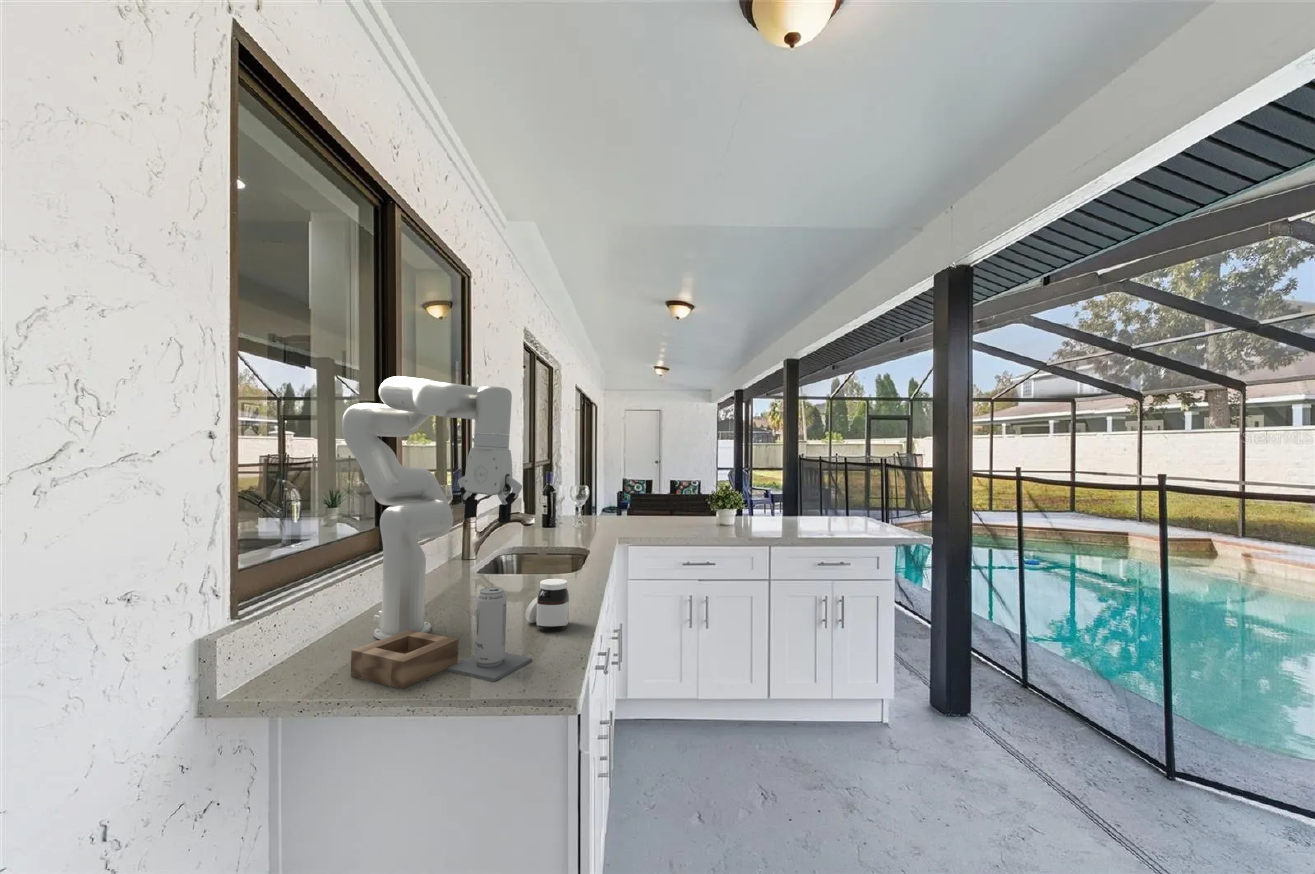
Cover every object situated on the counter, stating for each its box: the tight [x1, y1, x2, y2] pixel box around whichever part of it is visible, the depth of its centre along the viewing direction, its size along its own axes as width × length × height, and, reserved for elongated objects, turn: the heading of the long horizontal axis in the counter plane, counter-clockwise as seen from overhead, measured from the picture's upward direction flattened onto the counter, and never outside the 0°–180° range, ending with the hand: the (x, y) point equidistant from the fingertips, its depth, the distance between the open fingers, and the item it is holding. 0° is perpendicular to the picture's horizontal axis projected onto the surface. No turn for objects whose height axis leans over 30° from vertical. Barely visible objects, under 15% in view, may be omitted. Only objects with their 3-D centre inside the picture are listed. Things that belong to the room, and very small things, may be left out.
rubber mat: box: [446, 652, 533, 682], centre depth 113 cm, size 12×12×1 cm
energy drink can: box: [474, 586, 508, 667], centre depth 114 cm, size 6×6×15 cm
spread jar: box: [524, 578, 570, 633], centre depth 140 cm, size 12×11×12 cm
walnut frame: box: [350, 630, 459, 690], centre depth 111 cm, size 14×14×5 cm
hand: (487, 519), depth 120 cm, fingers open, 9 cm apart
